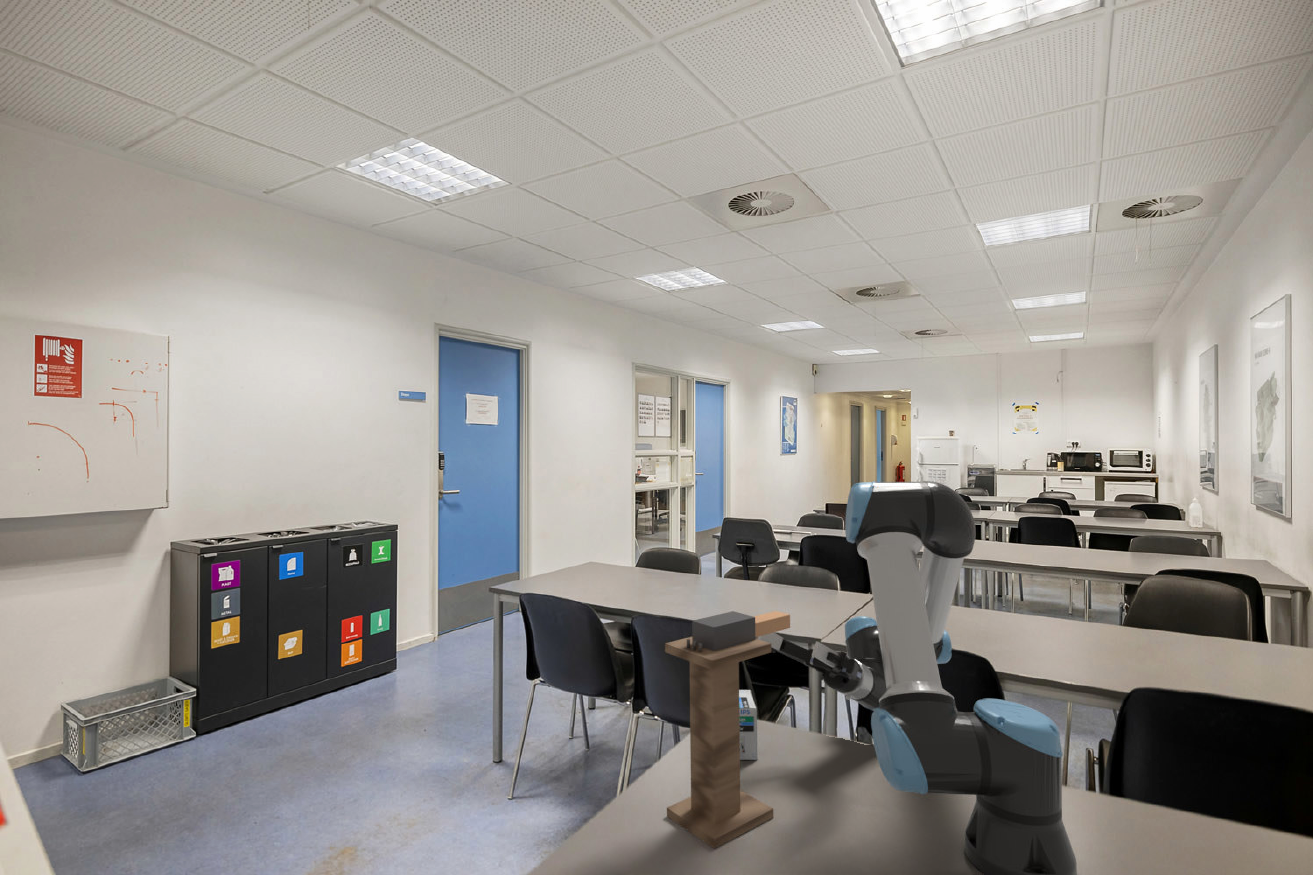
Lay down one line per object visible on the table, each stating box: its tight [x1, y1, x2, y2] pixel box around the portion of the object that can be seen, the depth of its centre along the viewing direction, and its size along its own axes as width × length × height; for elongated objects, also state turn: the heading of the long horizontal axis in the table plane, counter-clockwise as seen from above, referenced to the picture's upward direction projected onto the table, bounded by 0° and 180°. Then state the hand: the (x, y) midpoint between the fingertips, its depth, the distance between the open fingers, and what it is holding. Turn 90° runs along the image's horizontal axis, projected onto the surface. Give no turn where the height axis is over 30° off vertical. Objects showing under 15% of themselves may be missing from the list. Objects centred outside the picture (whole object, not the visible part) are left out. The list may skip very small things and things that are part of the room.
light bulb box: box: [739, 689, 759, 761], centre depth 141 cm, size 11×7×11 cm, turn 179°
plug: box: [691, 610, 791, 651], centre depth 120 cm, size 6×20×4 cm, turn 128°
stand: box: [664, 636, 774, 849], centre depth 116 cm, size 12×14×31 cm
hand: (786, 640), depth 127 cm, fingers open, 13 cm apart
